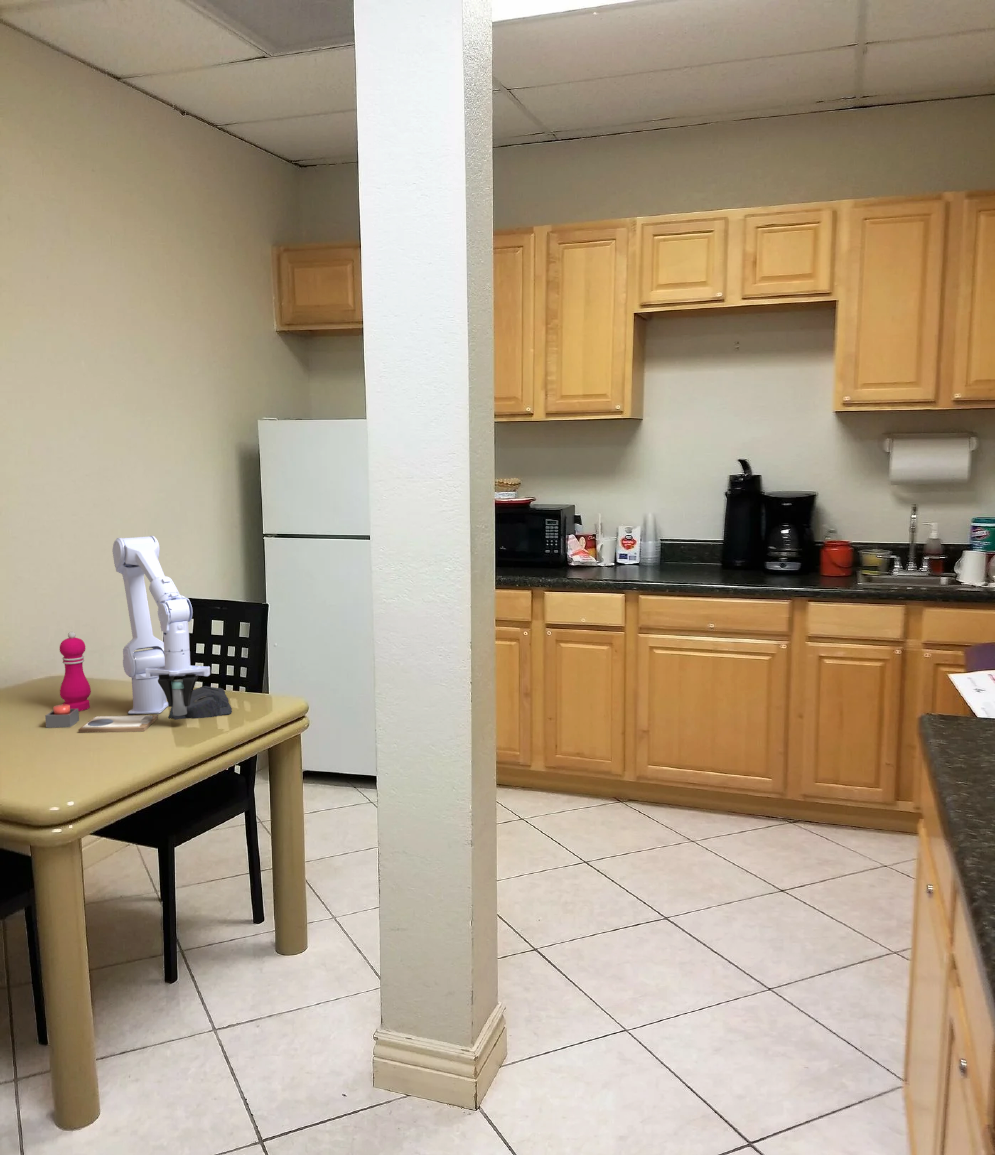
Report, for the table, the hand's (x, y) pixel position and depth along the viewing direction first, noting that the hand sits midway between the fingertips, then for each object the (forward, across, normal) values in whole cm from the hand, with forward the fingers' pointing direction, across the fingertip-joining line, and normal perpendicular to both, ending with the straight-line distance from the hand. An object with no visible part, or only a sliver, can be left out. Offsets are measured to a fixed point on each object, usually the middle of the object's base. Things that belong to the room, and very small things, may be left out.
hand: (179, 705), depth 222 cm
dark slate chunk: (+6, +1, +17) cm, 18 cm away
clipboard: (+5, -15, +2) cm, 16 cm away
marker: (+2, 0, 0) cm, 2 cm away
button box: (+5, -29, +4) cm, 30 cm away
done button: (+3, -29, +4) cm, 29 cm away
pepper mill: (+6, -31, +18) cm, 36 cm away
